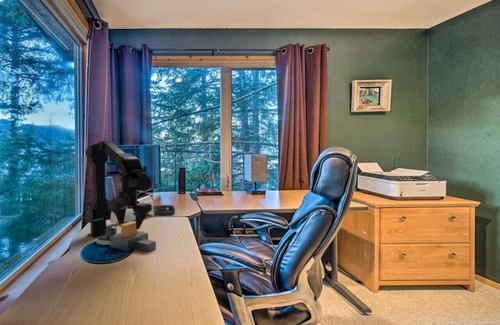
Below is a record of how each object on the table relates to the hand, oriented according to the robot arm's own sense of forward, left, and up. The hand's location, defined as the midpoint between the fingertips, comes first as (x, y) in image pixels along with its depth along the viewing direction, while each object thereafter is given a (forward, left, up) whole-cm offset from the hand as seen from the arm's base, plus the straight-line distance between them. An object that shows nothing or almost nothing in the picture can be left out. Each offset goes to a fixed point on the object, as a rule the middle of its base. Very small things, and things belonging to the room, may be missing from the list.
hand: (129, 227), depth 113 cm
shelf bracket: (-32, +30, -8) cm, 44 cm away
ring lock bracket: (-2, 0, -7) cm, 8 cm away
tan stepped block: (0, 0, -7) cm, 7 cm away
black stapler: (-33, +46, -8) cm, 57 cm away
